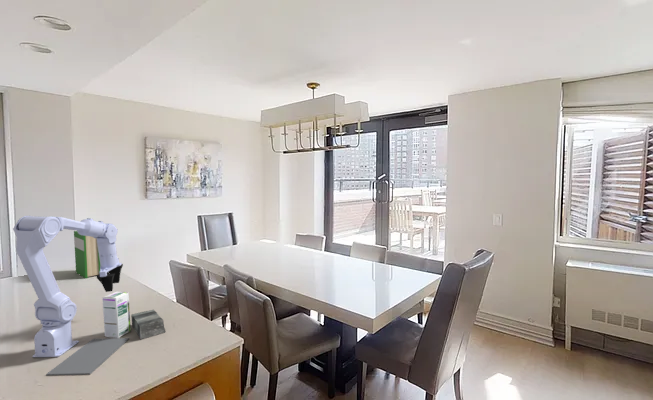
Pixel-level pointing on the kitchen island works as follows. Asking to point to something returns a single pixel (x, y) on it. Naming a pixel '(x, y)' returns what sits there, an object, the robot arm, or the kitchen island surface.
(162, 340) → the kitchen island surface
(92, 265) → the hardback book
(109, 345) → the mat
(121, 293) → the syrup box
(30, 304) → the kitchen island surface
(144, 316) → the stone block
